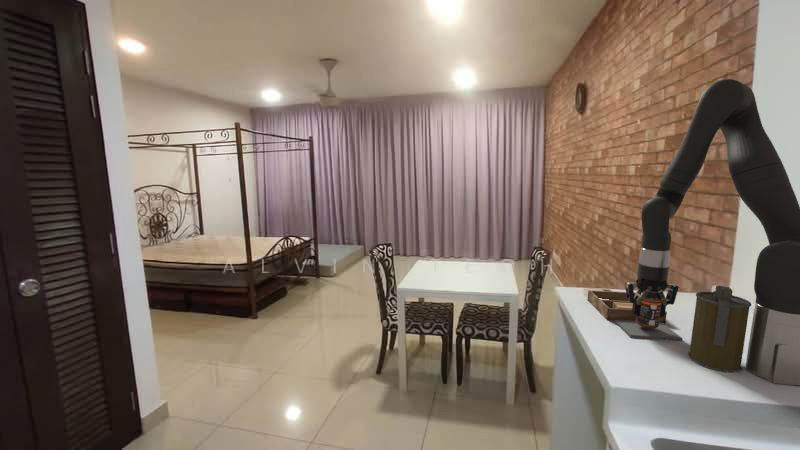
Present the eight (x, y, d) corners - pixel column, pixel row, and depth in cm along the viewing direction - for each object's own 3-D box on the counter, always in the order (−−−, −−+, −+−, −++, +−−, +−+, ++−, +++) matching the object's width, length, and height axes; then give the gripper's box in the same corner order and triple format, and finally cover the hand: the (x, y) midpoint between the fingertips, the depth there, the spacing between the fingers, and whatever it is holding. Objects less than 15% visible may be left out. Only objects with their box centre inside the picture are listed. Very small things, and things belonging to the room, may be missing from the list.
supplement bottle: (658, 330, 105) (662, 294, 103) (634, 325, 108) (638, 290, 107) (658, 324, 110) (662, 289, 108) (636, 319, 113) (639, 285, 111)
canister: (688, 347, 99) (696, 279, 96) (739, 360, 92) (750, 287, 89) (688, 364, 90) (697, 290, 87) (743, 378, 84) (756, 299, 81)
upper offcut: (650, 316, 116) (651, 309, 116) (617, 313, 118) (618, 307, 118) (644, 310, 121) (644, 304, 120) (612, 308, 123) (612, 301, 122)
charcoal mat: (682, 340, 103) (682, 338, 103) (630, 337, 105) (630, 334, 105) (661, 324, 113) (661, 322, 113) (614, 321, 116) (614, 319, 116)
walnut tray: (665, 323, 114) (666, 312, 114) (607, 320, 117) (608, 308, 117) (637, 302, 132) (638, 292, 132) (587, 300, 135) (588, 290, 134)
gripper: (633, 265, 103) (628, 319, 106) (688, 267, 101) (681, 322, 104) (622, 259, 111) (617, 309, 113) (672, 260, 108) (666, 312, 111)
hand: (648, 315), depth 108 cm, fingers closed on supplement bottle, 6 cm apart
